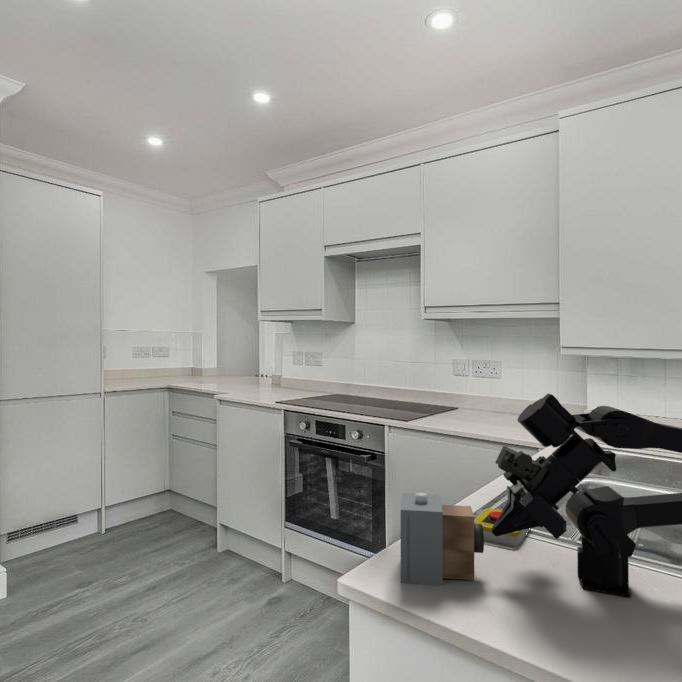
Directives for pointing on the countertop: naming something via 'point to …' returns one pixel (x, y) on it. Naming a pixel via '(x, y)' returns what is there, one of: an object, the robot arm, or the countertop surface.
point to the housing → (421, 539)
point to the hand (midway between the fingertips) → (493, 533)
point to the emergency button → (503, 541)
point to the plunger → (460, 542)
